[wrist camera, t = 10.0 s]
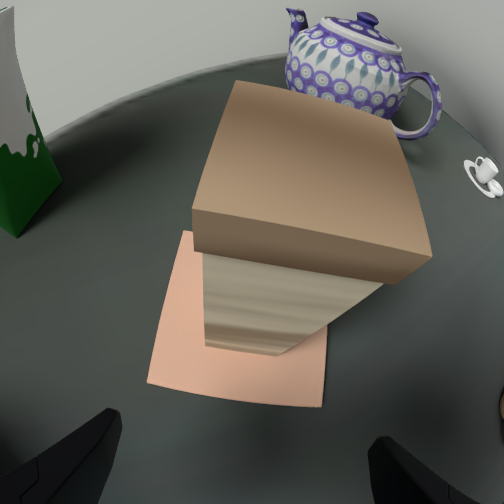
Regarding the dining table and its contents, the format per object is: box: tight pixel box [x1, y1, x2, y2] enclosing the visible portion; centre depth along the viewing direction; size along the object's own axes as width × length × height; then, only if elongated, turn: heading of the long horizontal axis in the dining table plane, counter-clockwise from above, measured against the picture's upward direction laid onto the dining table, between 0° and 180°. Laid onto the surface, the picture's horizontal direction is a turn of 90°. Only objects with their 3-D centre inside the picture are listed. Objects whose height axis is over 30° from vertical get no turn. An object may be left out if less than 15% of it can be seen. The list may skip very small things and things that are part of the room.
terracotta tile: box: [147, 231, 327, 407], centre depth 19 cm, size 11×11×1 cm
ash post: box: [192, 80, 432, 356], centre depth 12 cm, size 5×5×14 cm
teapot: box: [285, 8, 442, 140], centre depth 27 cm, size 25×15×15 cm, turn 33°
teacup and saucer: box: [464, 157, 503, 198], centre depth 33 cm, size 9×8×4 cm
